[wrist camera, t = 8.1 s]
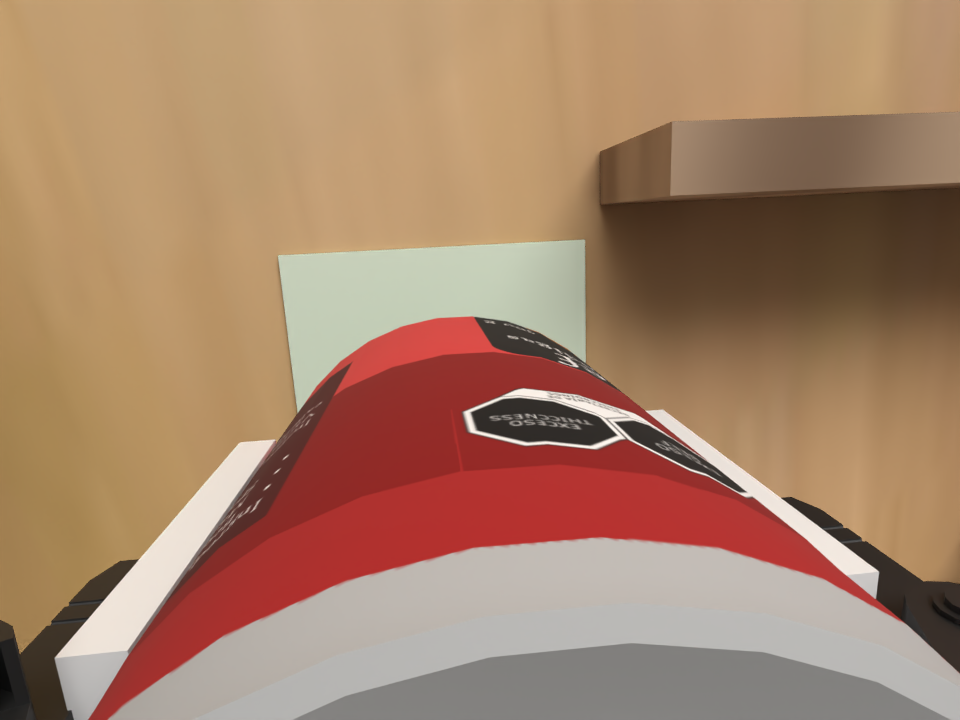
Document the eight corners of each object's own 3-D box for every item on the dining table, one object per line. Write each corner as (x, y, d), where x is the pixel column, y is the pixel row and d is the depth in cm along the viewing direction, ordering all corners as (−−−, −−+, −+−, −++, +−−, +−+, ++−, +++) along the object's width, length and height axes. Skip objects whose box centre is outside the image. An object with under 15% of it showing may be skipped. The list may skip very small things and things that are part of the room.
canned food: (654, 524, 15) (1186, 1203, 5) (376, 646, 15) (272, 1604, 5) (550, 254, 14) (1031, 347, 3) (235, 391, 14) (-479, 1006, 3)
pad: (317, 564, 19) (316, 566, 19) (278, 255, 17) (277, 255, 17) (586, 538, 20) (586, 540, 20) (583, 239, 18) (584, 239, 17)
